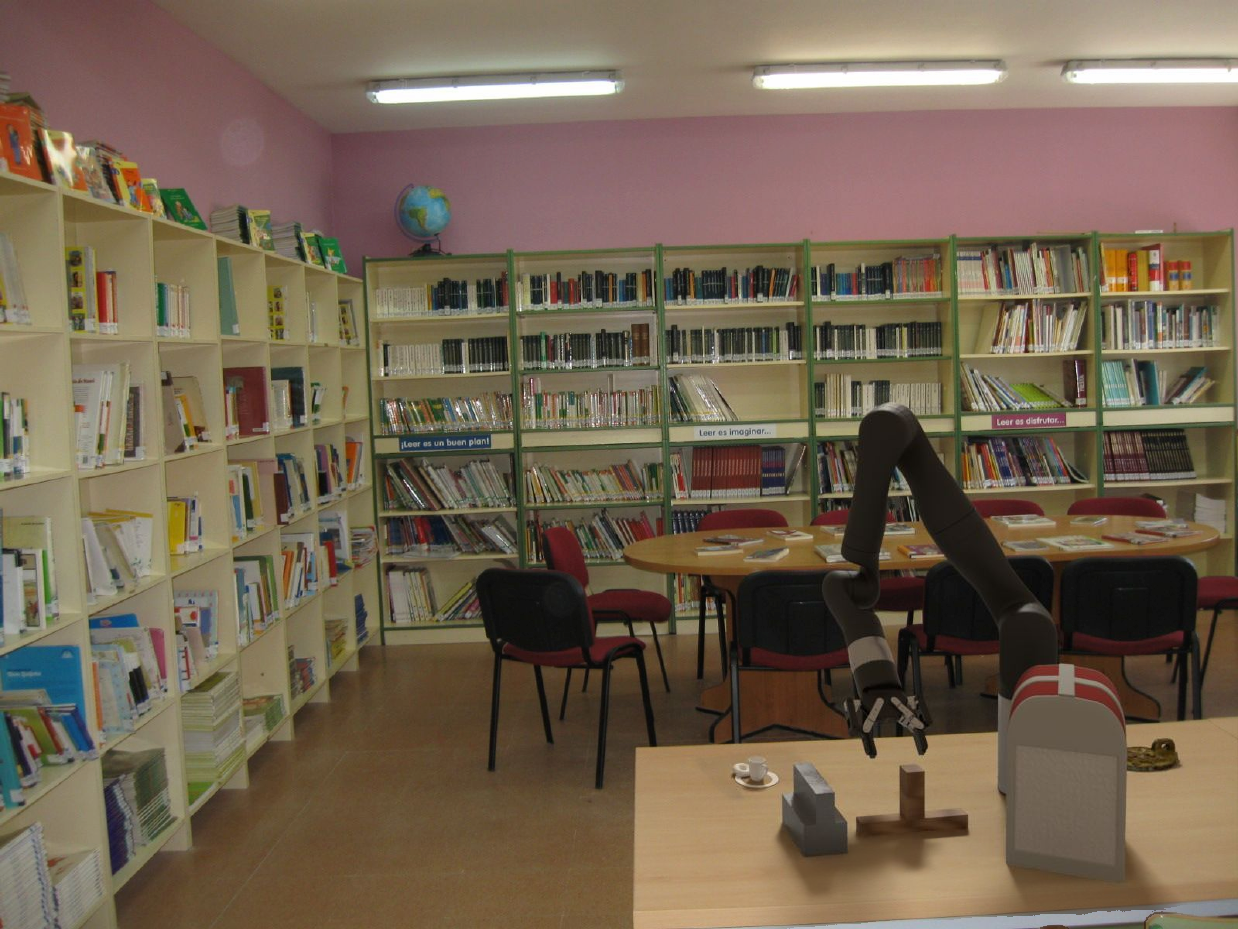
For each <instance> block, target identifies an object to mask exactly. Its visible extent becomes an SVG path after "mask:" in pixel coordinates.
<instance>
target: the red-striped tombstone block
mask: <svg viewBox="0 0 1238 929" xmlns="http://www.w3.org/2000/svg"><path fill="white" fill-rule="evenodd" d="M1125 719H1126V718H1125V715H1124V710H1123V707H1122V702H1121V698H1120V696H1119V693H1118V691H1117V689H1116V687H1115V686H1114V683H1113V682H1112V681H1111V680H1110V679H1109V677H1107V676H1106V675H1105V674H1103V673H1102V672H1100V671H1098V670H1096V669H1092V668H1087V667H1081V666H1076V665H1075V664H1071V663H1059V664H1057V665H1038V666H1034V667H1032V668H1030V669H1028V670H1027V671H1026V672H1025V673H1024V674H1023V675H1022V676H1021V677H1020V679H1019V680H1018V683H1017V685H1016V687H1015V690H1014V694H1013V698H1012V701H1011V704H1010V709H1009V715H1008V730H1007V780H1006V794H1005V795H1006V798H1005V799H1006V800H1005V801H1006V802H1005V803H1006V805H1005V809H1006V810H1005V812H1006V814H1005V815H1006V816H1005V863H1006V864H1008V865H1011V866H1018V867H1023V868H1030V869H1036V870H1042V871H1046V872H1047V871H1048V872H1054V873H1061V874H1064V875H1065V874H1066V875H1071V876H1077V877H1084V878H1090V879H1096V880H1101V881H1108V882H1115V883H1120V884H1121V883H1125V881H1126V880H1125V874H1126V873H1125V872H1126V870H1125V869H1126V834H1127V833H1126V830H1127V829H1126V828H1127V826H1126V825H1127V822H1126V820H1127V785H1128V784H1127V782H1128V781H1127V780H1128V779H1127V777H1128V774H1127V773H1128V770H1127V747H1128V742H1127V725H1126V720H1125Z"/></svg>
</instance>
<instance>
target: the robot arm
mask: <svg viewBox="0 0 1238 929" xmlns="http://www.w3.org/2000/svg"><path fill="white" fill-rule="evenodd" d="M857 433H858V434H857V435H858V437H857V449H856V450H857V453H856V470H855V478H854V486H853V491H852V497H851V502H850V506H849V511H848V515H847V519H846V523H845V528H844V532H843V537H842V541H841V545H840V554H841V556H842V559H844V560H845V561H846V562H849V563H850V564H854V565H857V566H859V570H857V571H856V570H832V571H830V572H828V573H827V574H826V575H825V576H824V578H823V580H822V586H821V591H822V595H823V596H822V597H823V600H824V601H825V604H826V606H827V607H828V609H829V611H830V613H831V615H832V616H833V617H834V620H835V621H836V622H837V625H838V626H839V627H840V629H841V631H842V634H843V637H844V640H845V644H846V648H847V652H848V661H849V664H850V670H851V672H852V675H853V681H854V683H855V687H856V690H857V694H858V696H859V699H853V697H851V696H848V697H847V698H846V699H845V701H844V703H843V706H842V707H843V712H844V716H845V723H846V727H847V733H848V734H849V736H858V737H859V738H860V739H861V743H862V745H863V746H862V747H863V751H864V753H865V755H866V756H869V759H876V757H877V755H878V751H877V746H876V743H875V741H874V736H873V733H872V732H871V730H872V728H873V725H874V723H877V724H878V725H884V724H896V723H897V722H898V723H899V724H900V725H901V726H902V727H903V728H907V730H909V731H910V732H911V733H912V734H913V735H912V737H913V742H914V744H915V748H916V751H917V754H918V756H924V755H925V754H926V752H927V750H928V749H929V743H928V741H927V738H926V737H927V736H926V733H925V732H927V731H928V730H930V727H931V726H932V725H933V723H934V722H933V719H932V716H931V713H930V710H929V708H928V706H927V703H926V701H925V698H924V696H923V694H922V693H920V692H917V693H916V694H915V695H913V696H912V695H911V696H906V694H905V693H904V691H903V687H902V683H901V680H900V677H899V673H898V671H897V666H896V664H895V661H894V657H893V654H892V651H891V648H890V646H889V644H888V642H887V639H886V636H885V632H884V629H883V626H882V622H881V620H880V617H879V616H878V615H877V614H875V612H872V611H868V610H866V609H872V607H874V606H875V605H876V604H877V602H878V601H879V599H880V596H881V579H880V553H881V549H882V545H883V540H884V535H885V532H886V528H887V527H886V526H887V522H888V521H887V519H888V498H889V493H890V492H889V491H890V486H891V482H892V478H893V476H894V472H895V469H896V468H897V470H898V471H899V472H900V473H901V475H902V476H903V478H904V480H905V482H906V484H907V485H908V488H909V490H910V493H911V495H912V497H913V502H914V504H915V507H916V510H917V513H918V515H919V518H920V520H921V522H922V525H923V526H924V528H925V530H926V532H927V533H928V535H929V537H930V538H931V539H932V541H933V542H934V544H935V545H936V547H937V548H938V550H939V551H940V552H941V553H942V555H943V556H944V558H945V559H946V560H947V562H949V563H950V565H952V567H953V568H954V569H955V570H956V571H957V572H958V573H959V574H960V575H961V576H962V577H963V578H964V579H965V580H966V581H967V582H968V583H969V584H970V585H971V586H972V587H973V588H974V589H975V591H976V592H977V594H978V595H979V596H980V598H981V599H982V601H983V603H984V604H985V606H986V608H987V610H988V611H989V613H990V615H991V617H992V618H993V620H994V622H995V624H996V627H997V628H998V634H999V635H998V641H999V643H998V644H999V645H998V646H999V647H998V648H999V649H998V650H999V651H998V682H997V684H998V691H997V692H998V696H997V697H998V698H997V700H998V703H997V705H998V706H997V708H998V709H997V712H998V713H997V789H998V790H999V791H1000V792H1001V793H1003V794H1004V795H1006V780H1007V730H1008V715H1009V709H1010V704H1011V701H1012V698H1013V694H1014V690H1015V687H1016V685H1017V683H1018V680H1019V679H1020V677H1021V676H1022V675H1023V674H1024V673H1025V672H1026V671H1027V670H1028V669H1030V668H1032V667H1034V666H1038V665H1058V650H1059V649H1058V648H1059V647H1058V644H1059V642H1058V640H1059V639H1058V632H1057V627H1056V625H1055V620H1054V619H1053V617H1052V615H1051V613H1050V612H1049V611H1048V609H1046V608H1045V606H1043V604H1042V603H1041V602H1040V601H1039V600H1038V599H1037V597H1036V596H1035V595H1034V593H1032V592H1031V591H1030V589H1029V588H1028V587H1027V586H1026V585H1025V583H1024V582H1023V581H1022V579H1021V578H1020V577H1019V576H1018V575H1017V573H1016V572H1015V570H1014V569H1013V567H1012V566H1011V564H1010V562H1009V560H1008V559H1007V556H1006V555H1005V553H1004V550H1003V549H1002V547H1001V545H1000V544H999V542H998V539H997V538H996V536H995V535H994V533H993V532H992V530H991V528H990V527H989V525H988V523H987V522H986V521H985V519H984V517H983V516H982V515H981V513H980V512H979V511H978V509H977V507H976V506H975V505H974V504H973V502H972V501H971V500H970V498H969V497H968V496H967V494H966V493H965V491H964V490H963V488H962V487H961V486H960V484H959V483H958V481H957V480H956V478H955V477H954V475H953V474H952V473H951V472H950V471H949V469H948V468H947V467H946V465H945V464H944V463H943V462H942V460H941V459H940V457H939V455H938V454H937V452H936V451H935V449H934V446H933V445H932V444H931V441H930V439H929V437H928V436H927V434H926V433H925V430H924V428H923V427H922V425H921V423H920V421H919V419H918V418H917V416H916V414H915V413H914V412H913V410H911V409H910V407H909V408H908V407H907V406H905V405H904V404H902V403H899V402H896V401H895V402H894V401H893V402H892V401H890V402H885V403H882V404H880V405H879V406H876V407H875V408H873V409H872V410H870V411H869V412H868V413H866V414H865V416H864V417H862V420H861V421H860V423H859V426H858V432H857ZM908 705H909V706H910V707H911V709H912V710H914V711H915V714H916V716H917V718H916V716H915V714H914V713H913V712H912V711H911V710H910V709H909V708H908V707H907V706H908ZM859 708H860V710H861V711H862V712H863V713H865V715H867V718H866V719H865V720H864V723H863V725H860V724H859V721H858V716H857V715H858V714H857V712H858V710H859Z"/></svg>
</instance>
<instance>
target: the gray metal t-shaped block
mask: <svg viewBox="0 0 1238 929" xmlns="http://www.w3.org/2000/svg"><path fill="white" fill-rule="evenodd" d="M792 771H793V792H783V793H782V792H781V810H782V811H781V812H782V813H781V814H782V817H781V818H782V824H783V826H784V827H785V829H786V831H787V832H788V834H789V835H790V837H791V838H792V840H793V842H794V843H795V845H796V846H797V848H798V850H799V851H800V853H801V854H802V856H803V857H804V858H807V857H817V856H818V857H819V856H829V855H840V854H848V850H849V849H848V846H849V845H848V844H849V843H848V840H849V839H848V838H849V837H848V835H849V832H848V820H846V818H845V817H844V815H843V814H842V813H841V812H840V810H839V809H838V808H837V807H836V796H835V795H836V794H835V790H833V788H832V787H831V785H830V784H829V783H828V782H827V781H826V780H825V778H824V777H823V775H822V774H821V773H820V772H819V770H818V769H817V768H816V767H815V765H814V764H813V763H812V762H811V761H807V762H797V763H795V762H794V763H793V769H792Z"/></svg>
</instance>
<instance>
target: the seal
mask: <svg viewBox="0 0 1238 929" xmlns="http://www.w3.org/2000/svg"><path fill="white" fill-rule="evenodd" d="M1178 755H1179V754H1178V752H1177V751H1176V743H1175V741H1174V739H1172V738H1169V737H1163V738H1156V739H1154V741H1153V742H1152V744H1151V746H1150V747H1148V746H1127V769H1129V770H1128V771H1134V770H1139V771H1138V772H1153V771H1152V770H1156V771H1162V770H1168V769H1171V768H1174V767H1175V766H1176V765H1178V763H1179V756H1178ZM1148 770H1150V771H1148Z"/></svg>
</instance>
